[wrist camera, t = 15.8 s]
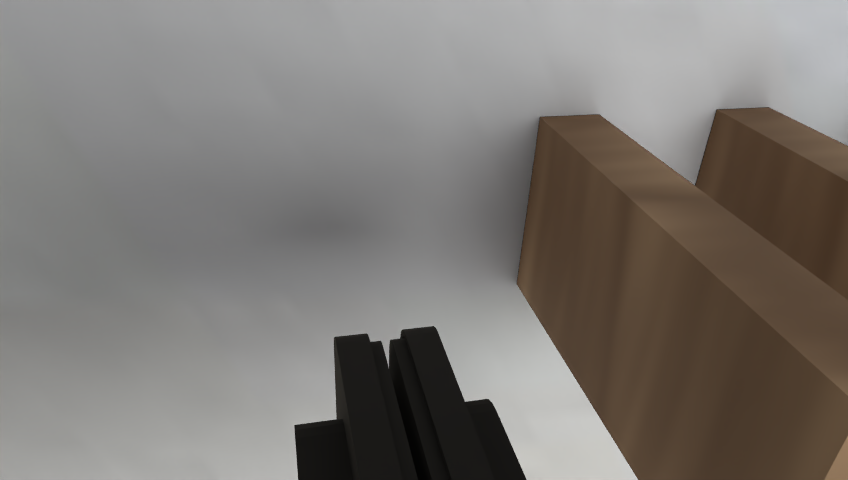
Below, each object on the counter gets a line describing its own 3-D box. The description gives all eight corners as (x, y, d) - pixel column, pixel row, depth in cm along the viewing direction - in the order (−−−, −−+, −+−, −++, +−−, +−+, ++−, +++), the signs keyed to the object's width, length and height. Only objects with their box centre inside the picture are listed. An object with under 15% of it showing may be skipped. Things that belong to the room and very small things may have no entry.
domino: (516, 284, 18) (738, 641, 10) (539, 116, 16) (862, 408, 8) (568, 279, 19) (823, 619, 10) (599, 114, 16) (968, 390, 8)
